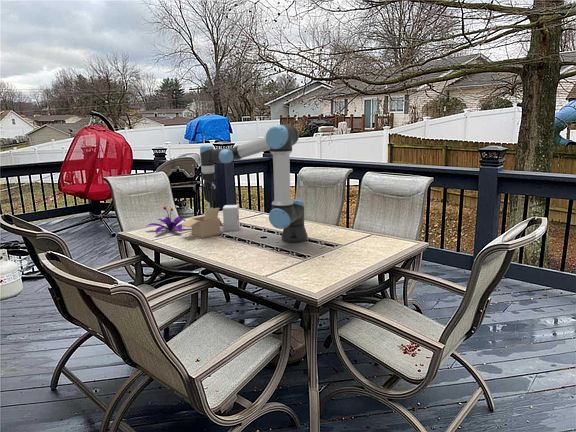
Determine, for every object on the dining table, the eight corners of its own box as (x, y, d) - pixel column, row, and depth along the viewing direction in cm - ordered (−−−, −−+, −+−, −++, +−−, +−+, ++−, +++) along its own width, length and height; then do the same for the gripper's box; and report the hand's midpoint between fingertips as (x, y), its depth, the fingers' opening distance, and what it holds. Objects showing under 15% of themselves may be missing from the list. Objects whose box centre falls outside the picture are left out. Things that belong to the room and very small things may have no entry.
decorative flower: (184, 222, 288) (182, 200, 284) (201, 232, 262) (200, 208, 259) (142, 229, 273) (140, 206, 269) (156, 240, 247) (154, 215, 244)
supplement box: (237, 231, 263) (236, 207, 260) (223, 231, 263) (222, 207, 260) (239, 227, 272) (238, 204, 268) (226, 227, 272) (224, 204, 269)
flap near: (217, 217, 252) (219, 208, 248) (204, 220, 246) (206, 210, 243) (216, 217, 253) (219, 207, 249) (203, 219, 247) (205, 210, 243)
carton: (226, 233, 259) (225, 217, 256) (202, 238, 248) (201, 222, 246) (211, 228, 271) (210, 212, 269) (188, 233, 260) (187, 217, 258)
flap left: (198, 220, 247) (188, 226, 243) (198, 221, 247) (189, 227, 243) (191, 218, 253) (181, 224, 250) (191, 219, 254) (181, 224, 250)
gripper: (219, 172, 240) (222, 213, 246) (208, 171, 250) (210, 210, 255) (208, 174, 236) (211, 215, 241) (196, 172, 245) (199, 212, 251)
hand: (210, 212), depth 248 cm, fingers closed
